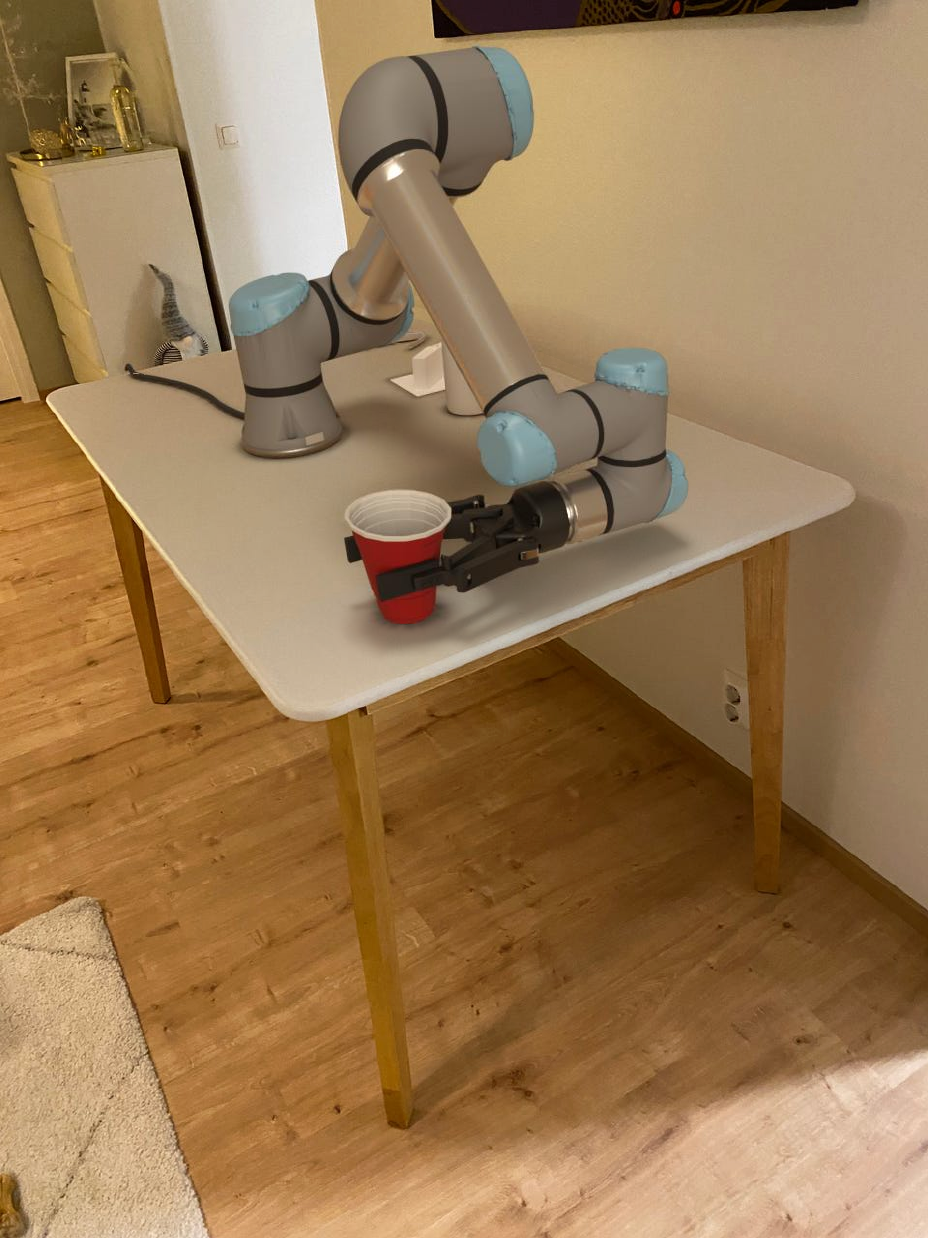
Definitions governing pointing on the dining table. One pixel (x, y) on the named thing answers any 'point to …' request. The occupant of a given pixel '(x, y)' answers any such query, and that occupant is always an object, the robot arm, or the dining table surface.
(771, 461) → the dining table surface
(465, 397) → the milk bottle
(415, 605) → the plastic cup
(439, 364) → the napkin holder
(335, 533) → the dining table surface
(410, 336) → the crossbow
